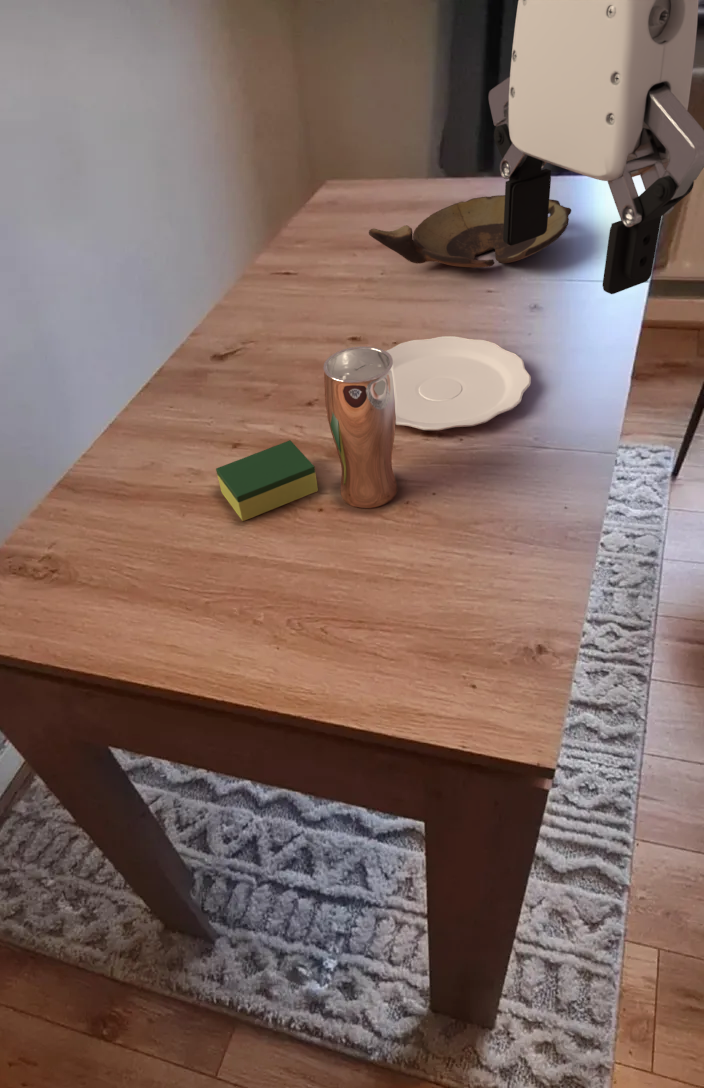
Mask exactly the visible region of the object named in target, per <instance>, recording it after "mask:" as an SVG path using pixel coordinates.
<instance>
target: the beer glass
mask: <svg viewBox="0 0 704 1088" xmlns="http://www.w3.org/2000/svg"><path fill="white" fill-rule="evenodd" d="M386 351H387V350H385V349H382V348H379V347H374V346H367V345H366V346H365V345H364V346H361V345H360V346H352V347H348V348H343V349H341V350H339V351H335V353H332V354H331V355H330V356H329V357H327V359H326V360H325V361H324V363H323V382H324V383H323V384H324V387H323V388H324V401H325V410H326V417H327V421H328V426H329V428H330V433H331V435H332V439H333V442H334V445H335V448H336V451H337V455H338V458H339V461H340V462H339V463H340V469H341V476H340V487H339V493H340V496H341V498H342V500H343V501H344V502H345V503H346V504H347V505H350V506H351V507H355V508H359V509H374V508H378V507H381V506H384V505H386V504H387V503H389V502H391V501H392V500H393V499H394V497H396V495H397V492H398V485H397V484H398V483H397V480H396V477H395V473H394V470H393V462H392V461H393V449H394V444H395V437H396V429H397V425H396V422H397V391H396V382H395V375H394V368H393V359H392V357H391V355H390V354H389V353H388V352H386Z"/></svg>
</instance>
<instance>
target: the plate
mask: <svg viewBox="0 0 704 1088" xmlns="http://www.w3.org/2000/svg"><path fill="white" fill-rule="evenodd" d="M385 351H386V352H388V353H389V354H390V355H391V357H392V359H393V368H394V375H395V382H396V391H397V422H396V426H406V427H410V428H411V427H412V428H415V429H418V430H422V431H442V430H447V429H452V428H460V427H462V428H463V427H474V426H477V425H481V424H485V423H487V422H489V421H490V420H492V419H493V418H495V417H496V416H498V415H501V414H503V413H506V412H509V411H512V410H513V409H515V408H516V407H517V406H518V405H519V404H521V402H522V399H523V395H524V393H525V392H526V391H527V390H528V388H529V387H530V386H531V381H532V379H531V378H532V376H531V375H530V374H529V373H530V372H528V370H526V368H525V363H524V360H523V358H521V356H519V355H518V354H517V353H514V352H512V351H509V350H507V349H504V348H503V347H502V346H500V345H498V344H497V343H495V342H492V341H488V340H485V339H475V338H474V339H471V338H466V337H461V336H454V335H453V336H452V335H451V336H450V335H449V336H448V335H447V336H445V335H442V336H437V337H436V336H435V337H433V338H426V339H424V338H423V339H411V340H408V341H404V342H400V343H399V344H397V345H395V346H393V347H391V348H389V349H387V350H385Z"/></svg>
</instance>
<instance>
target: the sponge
mask: <svg viewBox="0 0 704 1088" xmlns="http://www.w3.org/2000/svg"><path fill="white" fill-rule="evenodd" d="M315 467H316V466H315V465H314V464H313V463H312V462H311V461H310V460H309V458H308V457H307V456H306V455H305V454H304V453H303V452H302V451H301V450H300V449H299V448H298V446H296V444H295V443H294V442H293V441H292V440H291V439H290V440H287V441H284V442H282V443H279V444H276V445H273V446H271V447H269V448H265V449H263V450H261V451H258V452H256V453H252V454H250V455H248V456H245V457H242V458H239V459H237V460H235V461H232V462H229V463H227V464H223V465H221V466H219V467H217V468H215V472H216V475H217V480H218V485H219V488H220V491H221V494H222V495H223V497H224V498H225V499H226V501H227V502H228V504H229V506H230V507H231V508H232V510H234V512H235V513H236V515H237V516H238V517H239V519H240V520H241V521H242V522H246V521H247V520H250V519H252V518H254V517H257V516H259V515H262V514H266V513H267V512H270V511H273V510H274V509H277V508H279V507H282V506H285V505H287V504H290V503H292V502H294V501H296V500H299V499H302V498H305V497H306V496H309V495H311V494H314V493H316V492H318V491H319V489H318V480H317V475H316V474H317V473H316V468H315Z"/></svg>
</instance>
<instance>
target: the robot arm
mask: <svg viewBox="0 0 704 1088" xmlns="http://www.w3.org/2000/svg"><path fill="white" fill-rule="evenodd" d="M698 17H699V0H518V1H517V8H516V15H515V23H514V30H513V40H512V50H511V60H510V71H509V76H508V77H506V78H505V79H504V80H503V81H501V82H500V83H499V84H497V85H495V86H494V87H493V88H492V89H490V90H489V92H488V98H487V99H488V104H489V110H490V113H491V118H492V121H493V125H494V127H495V128H494V132H493V139H494V142H495V146H496V147H497V150H498V152H499V154H500V157H501V161H500V163H499V171H500V175H501V177H502V179H504V180H506V181H505V183H504V184H505V185H504V187H505V188H504V195H505V207H504V230H503V241H504V243H506V244H508V245H510V246H512V245H515V244H518V243H521V242H524V241H526V240H529V239H532V238H535V237H538V236H541V235H543V234H545V232H546V231H547V222H548V217H549V214H548V210H549V199H550V196H551V195H550V194H551V182H552V176H551V175H552V170H551V169H549V168H544V167H545V165H546V164H547V163H548V164H550V165H553V166H556V167H559V168H562V169H565V170H568V171H570V172H574V173H575V174H579V175H583V176H584V177H588V178H591V179H595V180H597V181H603V182H607V184H608V187H609V190H610V193H611V195H612V199H613V201H614V204H615V207H616V209H617V213H618V215H619V218H620V220H618V221H614V222H612V223H611V225H610V227H609V233H608V242H607V248H606V254H605V255H606V256H605V264H604V271H603V278H602V289H603V292H606V293H607V294H609V295H615V294H617V293H620V292H622V291H626V290H628V289H630V288H633V287H636V286H638V285H642V284H644V283H646V282H648V281H649V280H650V278H651V277H652V274H653V269H654V262H655V256H656V251H657V245H658V240H659V233H660V228H661V222H662V217H663V216H665V215H668V214H670V213H671V212H672V211H673V210H674V208H675V206H676V205H677V204H678V203H679V202H681V200H683V199H684V198H685V197H687V196H688V195H689V194H690V193H691V191H692V190H693V188H694V185H695V184H694V183H695V181H696V180H697V179H698V177H699V176H700V174H701V173H702V171H703V169H704V129H703V127H702V125H700V124H699V122H698V121H697V120H696V119H695V118H694V116H693V115H692V114H691V113H690V112H689V111H688V108H689V104H690V103H689V102H690V95H691V88H692V80H693V71H694V62H695V53H696V41H697V30H698ZM628 157H629V158H631V159H629V160H628ZM666 163H667V165H666V167H665V166H664V164H666ZM543 168H544V169H543ZM637 176H640V178H641V182H642V184H643V187H644V191H643V192H641V194H639V193H638V190H637V187H636V185H635V182H634V180H633V178H634V177H637Z"/></svg>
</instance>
